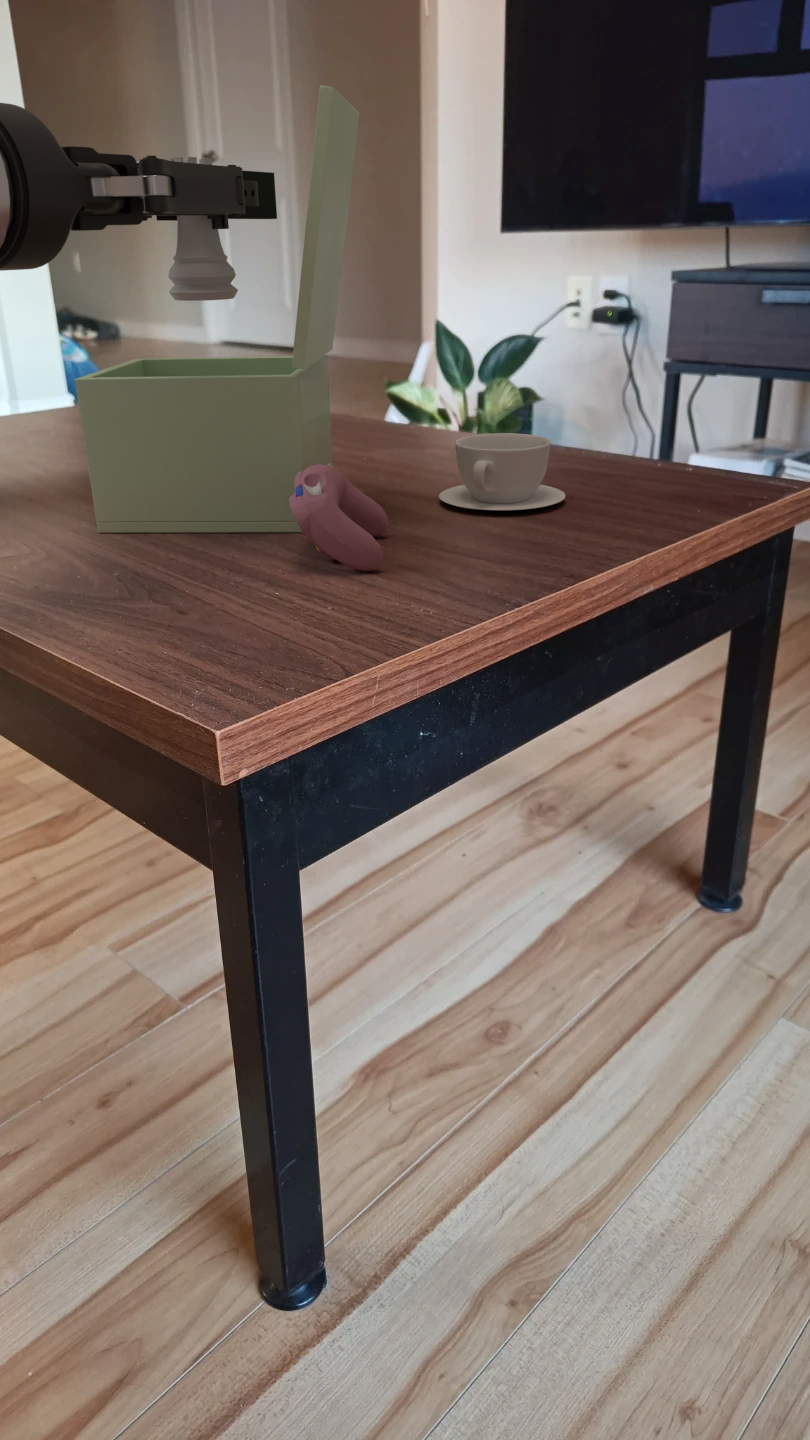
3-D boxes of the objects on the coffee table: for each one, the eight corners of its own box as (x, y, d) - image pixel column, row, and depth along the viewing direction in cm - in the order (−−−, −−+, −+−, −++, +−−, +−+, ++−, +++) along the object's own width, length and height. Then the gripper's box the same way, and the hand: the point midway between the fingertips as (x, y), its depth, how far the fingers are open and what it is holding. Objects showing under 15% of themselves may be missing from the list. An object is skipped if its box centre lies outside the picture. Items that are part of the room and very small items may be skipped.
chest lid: (319, 84, 62) (333, 87, 62) (348, 110, 75) (359, 112, 75) (291, 367, 69) (303, 369, 69) (321, 348, 82) (332, 350, 82)
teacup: (468, 484, 88) (468, 427, 86) (581, 493, 84) (584, 434, 82) (417, 510, 80) (416, 448, 78) (540, 521, 75) (542, 456, 74)
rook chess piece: (198, 301, 64) (183, 154, 60) (154, 300, 66) (139, 159, 63) (253, 297, 67) (242, 157, 63) (209, 296, 69) (197, 161, 66)
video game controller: (339, 555, 74) (289, 468, 71) (395, 526, 73) (346, 437, 70) (325, 598, 65) (268, 500, 63) (388, 566, 64) (333, 465, 62)
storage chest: (97, 532, 75) (74, 378, 71) (153, 491, 88) (136, 358, 83) (307, 532, 74) (298, 375, 70) (334, 491, 86) (327, 355, 82)
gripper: (-132, 272, 55) (156, 260, 73) (102, 270, 48) (354, 257, 67) (-168, 109, 52) (143, 140, 70) (77, 82, 45) (349, 124, 63)
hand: (245, 197), depth 68 cm, fingers closed on rook chess piece, 3 cm apart
